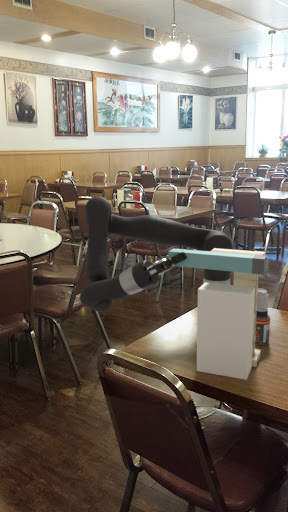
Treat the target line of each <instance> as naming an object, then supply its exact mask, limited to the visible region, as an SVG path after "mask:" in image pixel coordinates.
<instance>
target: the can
mask: <svg viewBox="0 0 288 512" xmlns="http://www.w3.org/2000/svg"><path fill="white" fill-rule="evenodd" d="M269 297H270V296H269V294H268V291H267V289H264V288H261V287H258V293H257V307H263V308H266V309H267V310H268V311H269Z"/></svg>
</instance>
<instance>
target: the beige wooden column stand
mask: <svg viewBox="0 0 288 512" xmlns="http://www.w3.org/2000/svg"><path fill="white" fill-rule="evenodd" d="M210 252H223V253H235V254H247V255H262V256H266V251H258V250H257V251H255V250H247V249H246V250H245V249H244V250H243V249H233V248H232V249H218V248H214V249H212V250H211V251H210ZM233 285H236V286H246V287H255V298H254V321H253V344H252V367H254V368H256V367H257V365H258V363H259V361H260V359H261V355H262V354H261V353H262V352H261V351H262V349H259V348H256V345H255V338H256V316H257V293H258V288H259V274H252V273H242V272H233Z"/></svg>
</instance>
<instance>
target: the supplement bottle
mask: <svg viewBox="0 0 288 512" xmlns="http://www.w3.org/2000/svg"><path fill="white" fill-rule="evenodd" d="M268 312H269V309H268V310H267V309H266V308H263V307H257V316H256V338H255V346H266V345H268V344H269V342H270V341H269V340H270V332H271V328H270V327H271V317H270V316H269V313H268Z"/></svg>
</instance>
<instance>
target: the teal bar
mask: <svg viewBox="0 0 288 512" xmlns="http://www.w3.org/2000/svg"><path fill="white" fill-rule="evenodd" d="M186 249H187V248H185V249H184V248H183V249H182V248H171V249H170V250H168V255H167V256H168V258H169V257H173V256H175V255H177V254H179V253H181V252H185V255H186V256H187V259H185V260H183V261H181V262H179V263H177V264H175V265H174V267H180V268H181V267H182V268H193V269H194V268H195V269H203V270H204V269H211V270H222V271H231V273H232V272H233V273H234V272H242V273H252V274H258V275H260V276H261V275H262V276H263V275H265V274H266V273H267V265H268V264H267V262H268V255H265V256H262V255H247V254H235V253H223V252H210V251H200V250H197V249H190V250H186ZM168 261H169V260H168Z"/></svg>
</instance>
